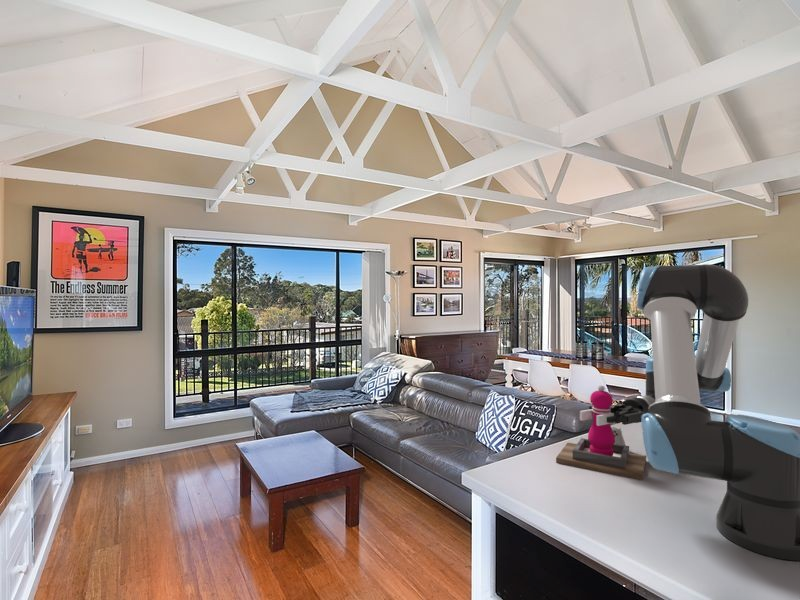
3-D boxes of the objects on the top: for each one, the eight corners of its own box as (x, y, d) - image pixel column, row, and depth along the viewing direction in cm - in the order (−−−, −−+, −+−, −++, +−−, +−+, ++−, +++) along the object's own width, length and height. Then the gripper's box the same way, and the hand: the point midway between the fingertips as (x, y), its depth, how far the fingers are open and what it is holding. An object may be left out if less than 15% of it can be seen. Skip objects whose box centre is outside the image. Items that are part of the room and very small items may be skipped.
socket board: (642, 479, 112) (642, 464, 112) (556, 462, 124) (556, 448, 124) (646, 461, 126) (645, 447, 126) (567, 447, 138) (567, 434, 138)
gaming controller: (590, 443, 141) (590, 422, 142) (597, 441, 144) (597, 420, 144) (620, 452, 133) (620, 430, 133) (627, 450, 135) (627, 428, 135)
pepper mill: (599, 458, 121) (599, 388, 121) (582, 450, 127) (582, 383, 128) (620, 456, 122) (620, 387, 123) (602, 448, 129) (602, 382, 130)
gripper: (669, 428, 125) (617, 440, 115) (613, 414, 141) (564, 423, 131) (669, 403, 125) (617, 412, 115) (614, 391, 141) (564, 398, 131)
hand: (589, 418), depth 123 cm, fingers closed on pepper mill, 5 cm apart
